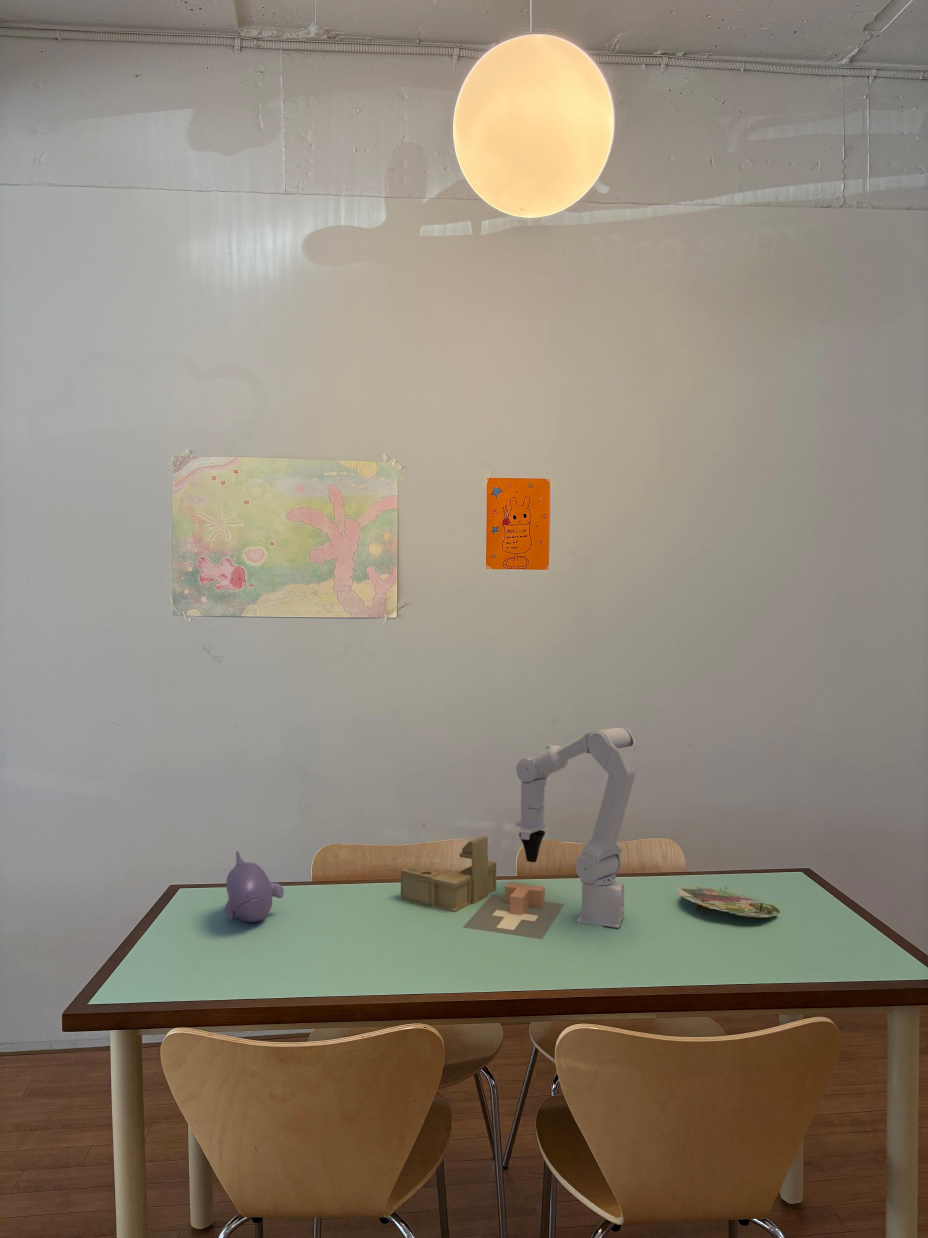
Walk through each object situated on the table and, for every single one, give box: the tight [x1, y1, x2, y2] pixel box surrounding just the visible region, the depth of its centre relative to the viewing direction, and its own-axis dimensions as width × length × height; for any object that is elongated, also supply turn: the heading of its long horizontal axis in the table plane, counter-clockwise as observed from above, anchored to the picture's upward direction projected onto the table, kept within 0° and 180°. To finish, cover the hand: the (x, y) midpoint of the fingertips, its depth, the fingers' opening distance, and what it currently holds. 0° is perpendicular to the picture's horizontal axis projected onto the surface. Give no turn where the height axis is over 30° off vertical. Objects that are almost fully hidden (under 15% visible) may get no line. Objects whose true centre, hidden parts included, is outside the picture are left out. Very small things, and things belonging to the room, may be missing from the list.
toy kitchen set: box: [400, 835, 497, 913], centre depth 204 cm, size 18×17×15 cm
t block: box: [504, 882, 546, 915], centre depth 195 cm, size 9×9×4 cm
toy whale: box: [224, 851, 285, 923], centre depth 190 cm, size 14×25×16 cm, turn 11°
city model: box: [677, 884, 781, 918], centre depth 197 cm, size 25×23×6 cm
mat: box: [462, 894, 565, 940], centre depth 190 cm, size 18×22×1 cm
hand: (531, 861), depth 204 cm, fingers closed
